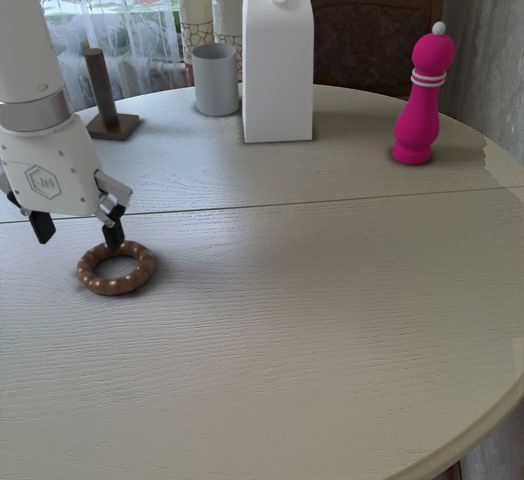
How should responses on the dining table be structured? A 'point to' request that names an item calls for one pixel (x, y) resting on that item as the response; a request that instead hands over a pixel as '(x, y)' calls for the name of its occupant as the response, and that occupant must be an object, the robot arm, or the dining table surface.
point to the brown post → (106, 102)
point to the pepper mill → (423, 98)
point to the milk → (277, 70)
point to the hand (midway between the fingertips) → (82, 242)
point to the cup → (216, 78)
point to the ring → (121, 283)
